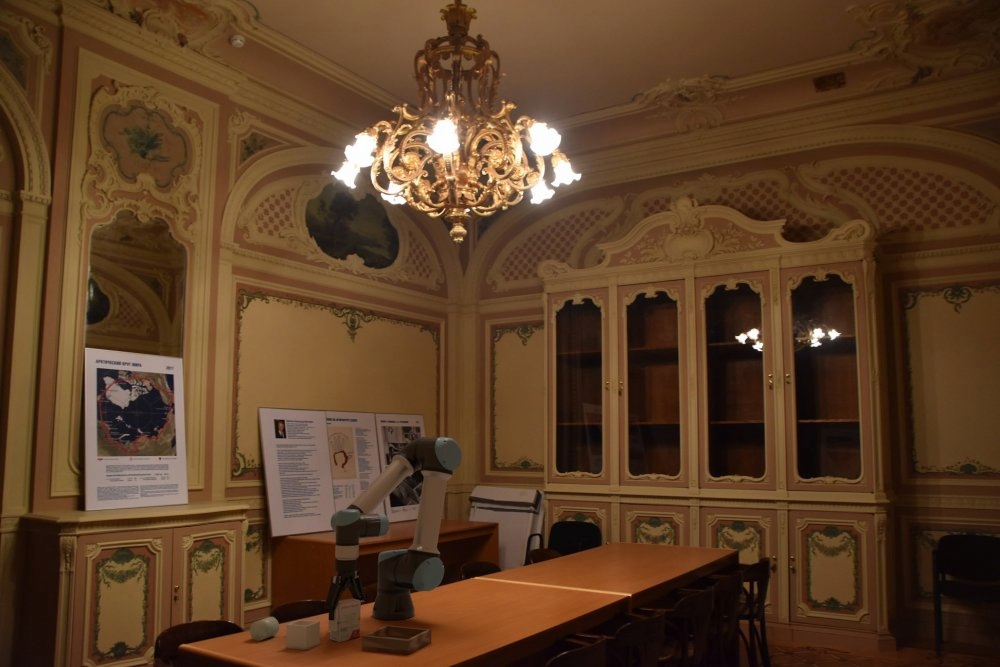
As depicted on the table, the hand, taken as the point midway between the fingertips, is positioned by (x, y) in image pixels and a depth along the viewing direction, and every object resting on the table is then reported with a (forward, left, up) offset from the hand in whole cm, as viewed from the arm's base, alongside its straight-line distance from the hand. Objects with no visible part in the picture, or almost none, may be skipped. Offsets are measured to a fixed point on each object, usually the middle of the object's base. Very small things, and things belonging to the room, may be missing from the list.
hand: (344, 626), depth 265 cm
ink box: (0, 0, -4) cm, 4 cm away
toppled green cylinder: (+9, -24, +2) cm, 25 cm away
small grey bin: (+13, -7, -4) cm, 15 cm away
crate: (+2, +20, -4) cm, 21 cm away
